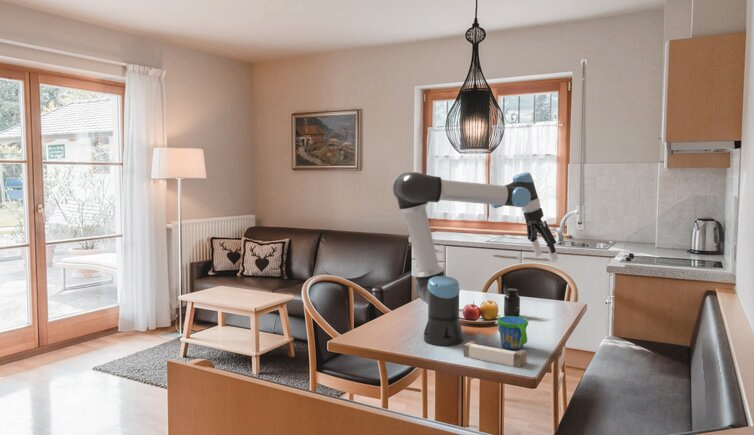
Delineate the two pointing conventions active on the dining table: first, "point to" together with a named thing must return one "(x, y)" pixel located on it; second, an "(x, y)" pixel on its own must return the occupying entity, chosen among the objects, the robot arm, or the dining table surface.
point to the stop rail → (495, 354)
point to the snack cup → (512, 332)
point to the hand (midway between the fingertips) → (546, 257)
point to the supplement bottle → (512, 303)
